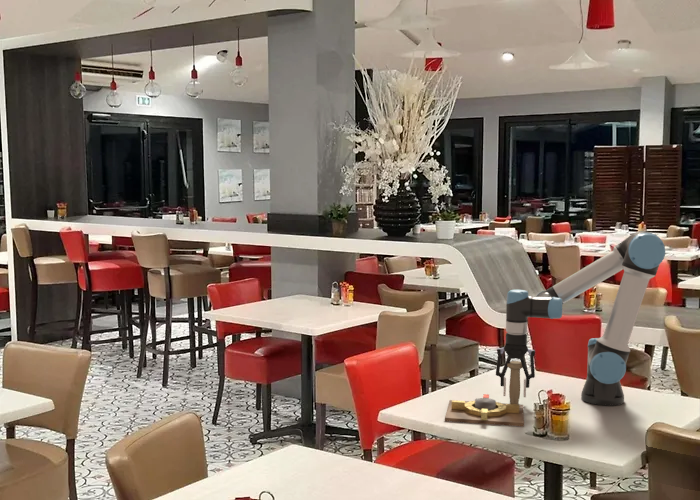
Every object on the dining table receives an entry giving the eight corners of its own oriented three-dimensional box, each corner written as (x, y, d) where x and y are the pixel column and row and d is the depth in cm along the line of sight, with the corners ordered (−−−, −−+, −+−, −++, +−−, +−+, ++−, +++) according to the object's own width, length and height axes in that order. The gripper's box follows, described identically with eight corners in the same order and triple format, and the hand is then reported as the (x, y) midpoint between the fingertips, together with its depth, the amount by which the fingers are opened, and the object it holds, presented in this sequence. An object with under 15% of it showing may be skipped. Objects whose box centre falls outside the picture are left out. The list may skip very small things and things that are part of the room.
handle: (525, 403, 294) (526, 362, 293) (514, 406, 290) (515, 365, 289) (514, 400, 298) (515, 360, 297) (503, 403, 294) (504, 363, 293)
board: (523, 408, 289) (524, 394, 288) (524, 426, 267) (525, 412, 267) (449, 403, 294) (449, 390, 293) (444, 421, 272) (445, 407, 272)
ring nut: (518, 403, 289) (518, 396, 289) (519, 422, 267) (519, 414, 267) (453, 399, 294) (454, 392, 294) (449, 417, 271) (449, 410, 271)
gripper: (543, 332, 294) (541, 394, 296) (489, 329, 297) (487, 391, 299) (544, 336, 286) (542, 400, 288) (488, 333, 290) (487, 396, 292)
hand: (514, 395), depth 294 cm, fingers open, 6 cm apart
